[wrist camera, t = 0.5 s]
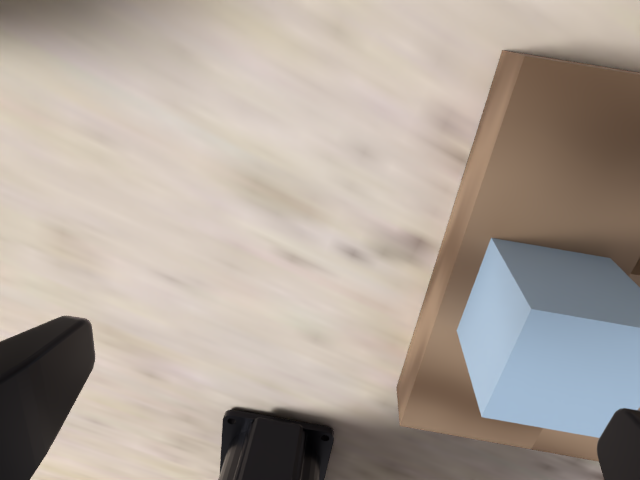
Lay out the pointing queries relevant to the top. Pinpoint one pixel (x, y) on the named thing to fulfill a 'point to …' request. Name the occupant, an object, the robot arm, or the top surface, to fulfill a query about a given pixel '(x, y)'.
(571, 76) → the trap board
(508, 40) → the top surface
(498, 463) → the top surface
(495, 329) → the blue block
